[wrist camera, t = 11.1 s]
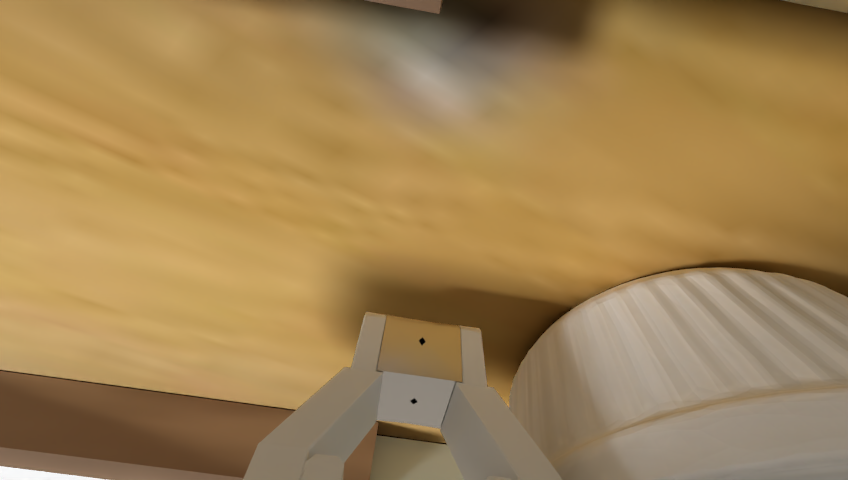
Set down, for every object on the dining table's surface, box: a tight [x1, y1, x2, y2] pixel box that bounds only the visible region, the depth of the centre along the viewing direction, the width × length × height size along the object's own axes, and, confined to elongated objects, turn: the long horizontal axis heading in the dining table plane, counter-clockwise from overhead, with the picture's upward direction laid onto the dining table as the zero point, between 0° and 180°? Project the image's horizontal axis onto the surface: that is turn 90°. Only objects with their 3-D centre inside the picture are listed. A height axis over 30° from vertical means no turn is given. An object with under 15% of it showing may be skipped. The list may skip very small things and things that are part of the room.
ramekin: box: [509, 267, 848, 480], centre depth 10 cm, size 11×11×5 cm
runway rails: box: [0, 0, 443, 480], centre depth 9 cm, size 17×19×2 cm
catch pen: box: [370, 0, 848, 480], centre depth 10 cm, size 18×23×4 cm
